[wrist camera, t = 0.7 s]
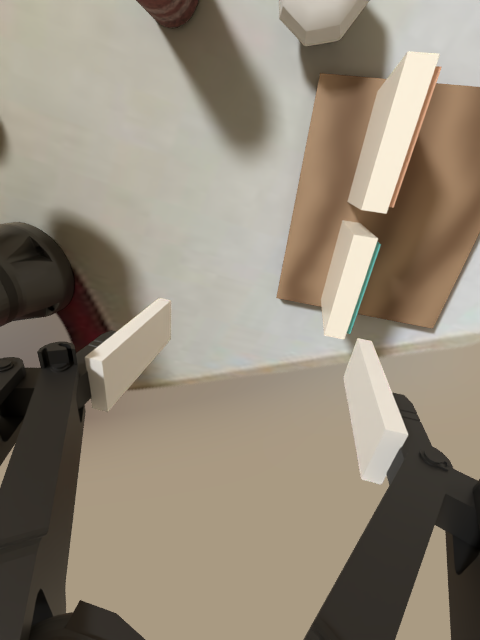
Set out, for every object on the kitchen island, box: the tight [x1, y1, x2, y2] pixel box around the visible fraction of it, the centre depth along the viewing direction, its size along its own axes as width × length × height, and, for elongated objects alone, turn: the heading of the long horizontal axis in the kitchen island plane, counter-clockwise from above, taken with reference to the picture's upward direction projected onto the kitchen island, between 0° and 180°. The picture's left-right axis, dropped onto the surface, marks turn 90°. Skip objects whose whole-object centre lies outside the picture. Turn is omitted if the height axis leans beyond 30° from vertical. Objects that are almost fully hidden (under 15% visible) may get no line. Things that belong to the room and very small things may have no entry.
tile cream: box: [348, 52, 441, 214], centre depth 26 cm, size 2×10×10 cm, turn 173°
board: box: [276, 73, 480, 328], centre depth 33 cm, size 20×24×2 cm
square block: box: [321, 220, 381, 339], centre depth 31 cm, size 2×10×10 cm, turn 173°
